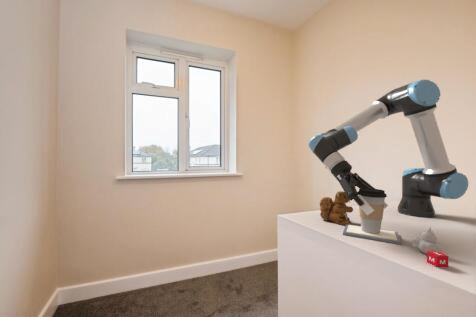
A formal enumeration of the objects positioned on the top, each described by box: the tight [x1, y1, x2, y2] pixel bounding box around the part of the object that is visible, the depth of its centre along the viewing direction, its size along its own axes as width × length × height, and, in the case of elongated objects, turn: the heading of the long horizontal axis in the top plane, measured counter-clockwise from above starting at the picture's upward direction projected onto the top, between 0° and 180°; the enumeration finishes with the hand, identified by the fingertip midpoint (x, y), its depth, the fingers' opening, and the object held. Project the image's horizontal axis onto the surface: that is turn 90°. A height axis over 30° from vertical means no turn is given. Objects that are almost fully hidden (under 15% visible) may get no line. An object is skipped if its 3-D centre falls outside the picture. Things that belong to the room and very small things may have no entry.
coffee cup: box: [357, 188, 388, 234], centre depth 83 cm, size 9×9×15 cm
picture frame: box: [342, 224, 402, 246], centre depth 83 cm, size 17×12×1 cm
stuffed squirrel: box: [319, 190, 354, 226], centre depth 100 cm, size 10×14×13 cm
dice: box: [426, 251, 449, 268], centre depth 60 cm, size 3×3×3 cm
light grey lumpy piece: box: [411, 226, 442, 255], centre depth 67 cm, size 5×7×8 cm
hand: (378, 210), depth 81 cm, fingers open, 13 cm apart
